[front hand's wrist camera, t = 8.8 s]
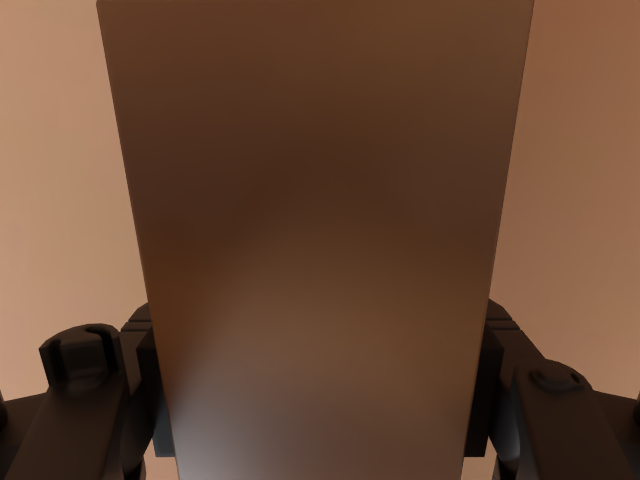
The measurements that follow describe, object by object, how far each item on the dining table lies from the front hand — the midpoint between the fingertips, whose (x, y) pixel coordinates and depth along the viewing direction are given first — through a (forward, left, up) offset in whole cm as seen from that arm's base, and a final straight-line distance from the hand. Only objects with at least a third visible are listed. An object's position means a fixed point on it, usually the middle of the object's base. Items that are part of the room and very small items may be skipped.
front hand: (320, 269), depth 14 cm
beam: (+17, +7, -1) cm, 18 cm away
